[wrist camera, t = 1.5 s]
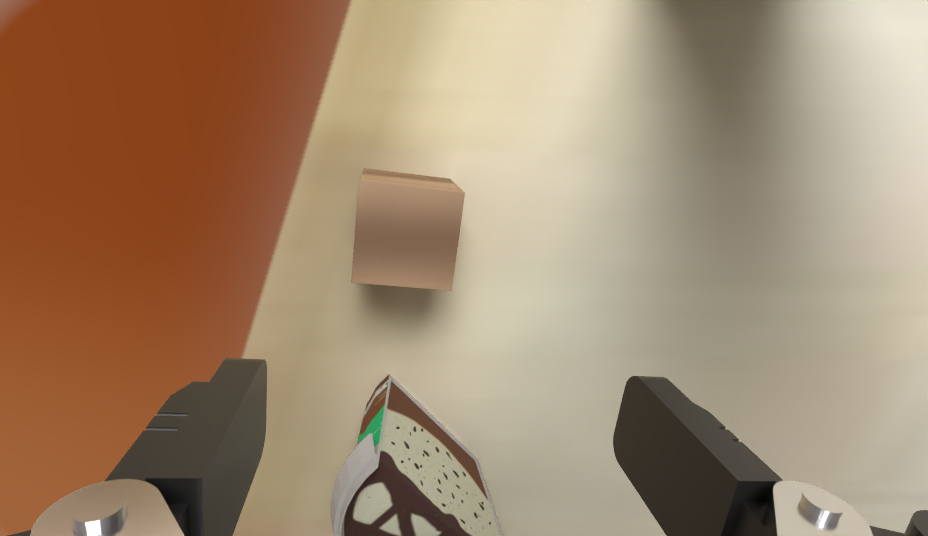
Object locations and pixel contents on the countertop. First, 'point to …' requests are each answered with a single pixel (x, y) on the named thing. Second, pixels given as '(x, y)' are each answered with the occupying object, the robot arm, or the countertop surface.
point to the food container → (409, 476)
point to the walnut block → (406, 230)
